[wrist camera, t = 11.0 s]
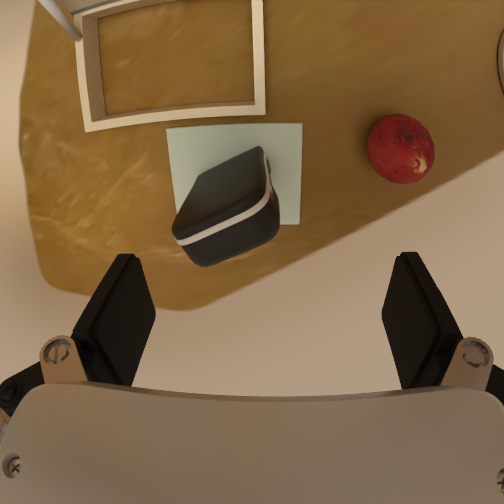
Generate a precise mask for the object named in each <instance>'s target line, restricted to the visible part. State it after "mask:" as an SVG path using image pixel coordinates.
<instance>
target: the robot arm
mask: <svg viewBox="0 0 504 504" xmlns="http://www.w3.org/2000/svg"><path fill="white" fill-rule="evenodd" d="M498 66H499V74H500V80H501V83H502V87H503V90H504V32H503V34H502V37H501V39H500V44H499V50H498ZM155 314H156V312H155V308H154V305H153V302H152V299H151V295H150V292H149V289H148V286H147V282H146V279H145V276H144V272H143V269H142V265H141V262H140V259H139V258H136V257H135V255H134V254H118V255H117V257H116V258H115V260H114V262H113V263H112V265H111V266H110V268H109V270H108V271H107V273H106V274H105V276H104V278H103V279H102V281H101V282H100V284H99V286H98V287H97V289H96V291H95V292H94V294H93V296H92V297H91V299H90V301H89V302H88V304H87V306H86V308H85V310H84V311H83V313H82V315H81V317H80V318H79V320H78V322H77V324H76V325H75V327H74V329H73V333H72V335H71V337H68V336H64V335H61V336H56V337H53V338H52V339H50V340H48V341H47V342H46V343H45V344H44V345H43V347H42V349H41V351H40V361H39V362H37V363H36V364H34V365H32V366H30V367H28V368H27V369H24V370H23V371H21V372H19V373H17V374H15V375H13V376H12V377H10V378H8V379H6V380H5V381H3V382H2V383H1V385H0V504H504V370H503V369H501V368H499V367H497V366H496V365H494V364H493V359H494V357H493V353H492V350H491V349H490V347H489V346H488V345H487V344H486V343H485V342H483V341H482V340H481V339H478V338H475V337H467V338H463V336H462V334H461V331H460V329H459V327H458V325H457V323H456V321H455V319H454V317H453V315H452V313H451V311H450V309H449V307H448V305H447V303H446V301H445V299H444V298H443V296H442V294H441V292H440V290H439V289H438V287H437V286H436V284H435V282H434V280H433V279H432V277H431V275H430V273H429V272H428V270H427V268H426V266H425V264H424V263H423V261H422V259H421V258H420V256H419V254H418V253H417V252H402V253H401V254H400V256H397V257H396V260H395V263H394V267H393V271H392V276H391V279H390V283H389V287H388V290H387V294H386V298H385V301H384V305H383V308H382V321H383V324H384V327H385V330H386V333H387V337H388V340H389V344H390V347H391V350H392V354H393V357H394V361H395V365H396V368H397V372H398V376H399V379H400V383H401V387H402V390H393V391H383V392H371V393H359V394H345V395H329V396H298V397H297V396H295V397H258V396H228V395H209V394H195V393H183V392H172V391H163V390H153V389H146V388H137V387H131V386H132V383H133V380H134V377H135V374H136V371H137V368H138V365H139V362H140V359H141V357H142V353H143V351H144V348H145V345H146V342H147V340H148V337H149V334H150V331H151V329H152V326H153V323H154V321H155V316H156V315H155Z"/></svg>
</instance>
